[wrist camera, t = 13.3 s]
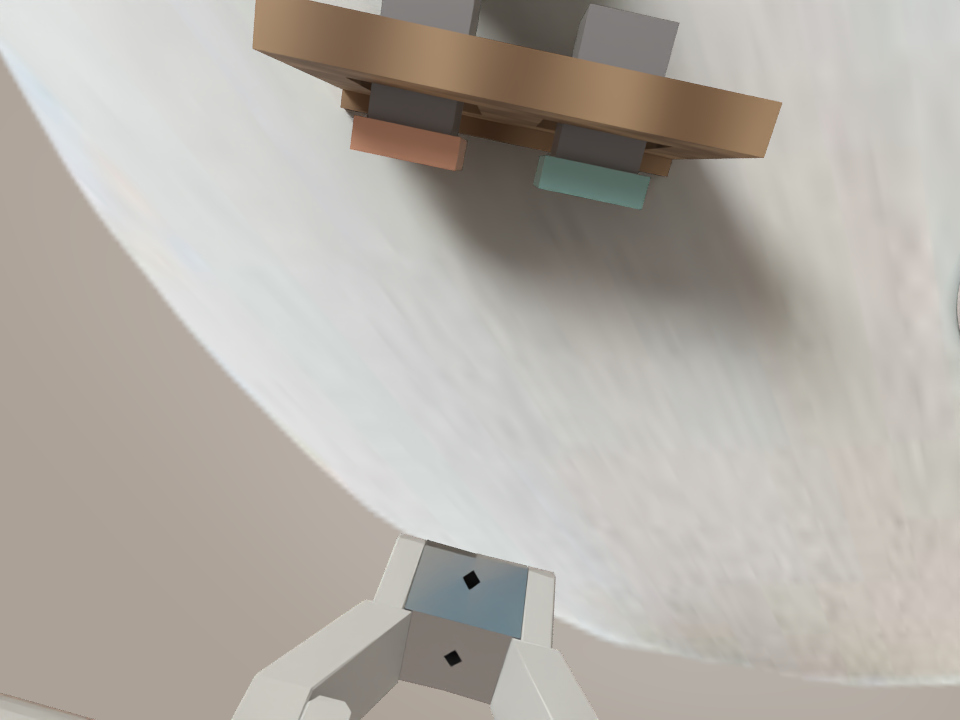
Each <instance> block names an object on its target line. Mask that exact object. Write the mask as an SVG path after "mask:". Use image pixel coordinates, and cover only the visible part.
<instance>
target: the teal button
mask: <svg viewBox="0 0 960 720" xmlns="http://www.w3.org/2000/svg"><path fill="white" fill-rule="evenodd" d="M678 26H679V23H678V22H674V21H669V20H664V19H660V18H655V17H651V16H646V15H642V14H637V13H632V12H628V11H623V10H619V9H614V8H610V7H605V6H601V5H596V4H591V3H590V5H589V7H588V9H587V11H586V12H585V14H584V16H583V18H582V20H581V22H580V23H579V28H578V32H577V36H576V41H575V45H574V50H573V54H572V57H573V58H578V59H583V60H587V61H592V62H597V63H601V64H606V65H610V66H615V67H620V68H624V69H629V70H634V71H638V72H643V73H647V74H652V75H657V76H661V77H665V73H666V70H667V66H668V62H669V59H670V55H671V51H672V48H673V44H674V40H675V37H676V33H677V29H678ZM646 143H647V141H643V140H638V139H634V138H629V137H624V136H620V135H615V134H610V133H606V132H601V131H596V130H591V129H587V128H582V127H577V126H573V125H568V124H563V123H559V122H557V126H556V130H555V134H554V139H553V143H552V148H551V152H550V156H547V155H544V156H539V161H538V165H537V170H536V175H535V179H534V184H533V185H535V186H536V187H537V188H540V189H544V190H549V191H554V192H559V193H564V194H568V195H573V196H578V197H583V198H587V199H592V200H597V201H602V202H606V203H611V204H616V205H621V206H625V207H630V208H635V209H640V210H642V206H643V203H644V199H645V195H646V192H647V188H648V185H649V181H650V178H651V177H646V176H642V175H638V172H639V169H640V165H641V161H642V158H643V154H644V150H645V147H646Z"/></svg>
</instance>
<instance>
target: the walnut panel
mask: <svg viewBox="0 0 960 720" xmlns="http://www.w3.org/2000/svg"><path fill="white" fill-rule="evenodd" d="M253 49H255V50H257V51H259V52H261V53H264V54H266V55H268V56H270V57H272V58H275V59H277V60H279V61H281V62H283V63H286V64H288V65H290V66H292V67H294V68H297V69H299V70H301V71H303V72H306V73H308V74H310V75H312V76H314V77H317V78H319V79H321V80H323V81H325V82H328V83H330V84H332V85H334V86H336V87H339V88H341V89H343V91H342V99H341V108H344V109H349V110H353V111H358V112H363V113H368V109H369V101H370V93H371V85H372V83H376V84H380V85H385V86H390V87H395V88H399V89H404V90H409V91H413V92H418V93H423V94H427V95H432V96H437V97H441V98H446V99H451V100H455V101H460V102H464V105H463V111H462V117H461V122H460V128H459V133H462V134H467V135H471V136H476V137H481V138H486V139H490V140H495V141H500V142H504V143H509V144H514V145H519V146H523V147H528V148H533V149H538V150H542V151H547V152H551V148H552V143H553V139H554V134H555V130H556V126H557V122H559V123H563V124H568V125H573V126H577V127H582V128H587V129H591V130H596V131H601V132H606V133H610V134H615V135H620V136H624V137H629V138H634V139H638V140H643V141H647V143H646V147H645V150H644V154H643V158H642V161H641V165H640V169H639V171H641V172H646V173H651V174H656V175H660V176H668V172H669V169H670V165H671V162H672V159H722V158H764V156H765V153H766V150H767V147H768V144H769V141H770V138H771V135H772V132H773V129H774V126H775V123H776V120H777V117H778V114H779V111H780V108H781V105H782V103H781V102H777V101H772V100H768V99H763V98H758V97H754V96H749V95H744V94H740V93H735V92H731V91H726V90H721V89H717V88H712V87H707V86H703V85H698V84H694V83H689V82H684V81H680V80H675V79H670V78H666V77H661V76H657V75H652V74H647V73H643V72H638V71H634V70H629V69H624V68H620V67H615V66H610V65H606V64H601V63H597V62H592V61H587V60H583V59H578V58H573V57H569V56H564V55H560V54H555V53H550V52H546V51H541V50H536V49H532V48H527V47H523V46H518V45H513V44H509V43H504V42H499V41H495V40H490V39H486V38H481V37H476V36H472V35H467V34H462V33H458V32H453V31H449V30H444V29H439V28H435V27H430V26H426V25H421V24H416V23H412V22H407V21H402V20H398V19H393V18H389V17H384V16H379V15H375V14H370V13H365V12H361V11H356V10H352V9H347V8H342V7H338V6H333V5H328V4H324V3H319V2H315V1H310V0H256V4H255V19H254V34H253Z"/></svg>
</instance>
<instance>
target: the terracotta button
mask: <svg viewBox="0 0 960 720" xmlns="http://www.w3.org/2000/svg"><path fill="white" fill-rule="evenodd" d="M481 3H482V2H481V0H382V7H381V15H380V16H384V17H389V18H393V19H398V20H402V21H407V22H412V23H416V24H421V25H426V26H430V27H435V28H439V29H444V30H449V31H453V32H458V33H462V34H467V35H472V36H476V31H477V25H478V20H479V14H480V8H481ZM463 105H464V102H460V101H455V100H451V99H446V98H441V97H437V96H432V95H427V94H423V93H418V92H413V91H409V90H404V89H399V88H395V87H390V86H385V85H380V84H376V83H372V85H371V93H370V101H369V109H368V116H367V118H366V117H362V116H357V115H354V121H353V129H352V137H351V146H350V149H353V150H358V151H362V152H367V153H372V154H377V155H381V156H386V157H391V158H396V159H400V160H405V161H410V162H415V163H419V164H424V165H429V166H434V167H438V168H443V169H448V170H453V171H458V170H462V168H463V162H464V157H465V151H466V146H467V141H466V140H464V139H463V138H461V137H458V134H459V128H460V122H461V117H462V111H463Z"/></svg>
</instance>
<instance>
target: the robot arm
mask: <svg viewBox="0 0 960 720" xmlns="http://www.w3.org/2000/svg"><path fill="white" fill-rule="evenodd" d="M957 315H958V323H959V328H960V286H959V291H958V300H957ZM555 578H556V577H555V574H554V572H550V571H546V570H542V569H538V568H534V567H530V566H528V567H527V566H526V565H522V564H518V563H514V562H510V561H506V560H502V559H498V558H494V557H489V556H485V555H481V554H475V553H472V552H468V551H465V550H461V549H458V548H454V547H451V546H447V545H444V544H440V543H437V542H433V541H430V540H427V541H426V540H424V539H421V538H417V537H414V536H411V535H407V534H404V533H401V534H400V535H399V537H398V538H397V541H396V543H395V546H394V548H393V551H392V553H391V556H390V559H389V561H388V564H387V566H386V569H385V571H384V574H383V577H382V580H381V582H380V584H379V587H378V589H377V592H376V595H375V597H374V600H373V601H371V600H366V599H365V600H363V601H362V602H360V603H359V604H358V605H356V606H355V607H354V608H352V609H350V610H349V611H348V612H346V613H344V614H343V615H342V616H340V617H339V618H337V619H336V620H334V621H333V622H331V623H330V624H328V625H327V626H326V627H324V628H323V629H321V630H320V631H318V632H317V633H316V634H314V635H312V636H311V637H309V638H308V639H307V640H305V641H304V642H302V643H301V644H299V645H298V646H296V647H295V648H293V649H292V650H291V651H289V652H288V653H286V654H285V655H283V656H282V657H280V658H279V659H277V660H276V661H274V662H273V663H272V664H270V665H269V666H267V667H266V668H264V669H263V670H261V671H260V672H259V673H257V674H256V675H255V677H254V678H253V680H252V682H251V684H250V686H249V688H248V689H247V691H246V693H245V695H244V697H243V699H242V701H241V702H240V704H239V706H238V708H237V710H236V712H235V714H234V716H233V717H232V719H231V720H360V719H361V718H362V717H364V715H365V714H367V713H368V712H369V711H370V710H371V709H372V708H373V707H374V706H375V705H376V704H377V703H378V702H379V701H380V700H381V699H382V698H383V697H384V696H385V695H386V694H387V693H388V692H389V691H390V690H391V689H392V688H393V687H394V686H395V685H396V684H397V683H398V680H402V681H407V682H411V683H415V684H419V685H423V686H428V687H431V688H436V689H440V690H444V691H447V692H450V693H454V694H457V695H460V696H464V697H467V698H471V699H474V700H477V701H480V702H484V703H487V704H490V709H491V712H492V715H493V718H494V720H599V719H598V717H597V715H596V713H595V712H594V710H593V708H592V706H591V705H590V703H589V701H588V699H587V698H586V696H585V694H584V692H583V690H582V689H581V687H580V685H579V683H578V682H577V680H576V678H575V677H574V674H573V673H572V671H571V669H570V668H569V666H568V664H567V662H566V660H565V659H564V657H563V655H562V653H561V652H560V651H559V650H555V649H552V642H553V641H552V640H553V621H554V600H555ZM0 720H95V719H92V718H88V717H84V716H81V715H78V714H74V713H71V712H67V711H63V710H60V709H56V708H53V707H49V706H46V705H42V704H39V703H35V702H32V701H28V700H25V699H21V698H17V697H14V696H10V695H7V694H3V693H0Z"/></svg>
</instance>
